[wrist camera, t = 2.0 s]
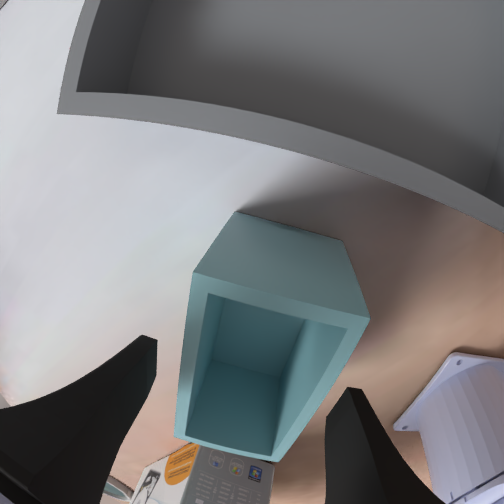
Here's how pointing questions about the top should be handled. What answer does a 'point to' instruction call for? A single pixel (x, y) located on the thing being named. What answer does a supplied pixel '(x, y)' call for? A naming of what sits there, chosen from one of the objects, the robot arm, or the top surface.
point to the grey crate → (313, 82)
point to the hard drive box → (205, 479)
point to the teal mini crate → (265, 336)
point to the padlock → (2, 2)
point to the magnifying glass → (117, 490)
